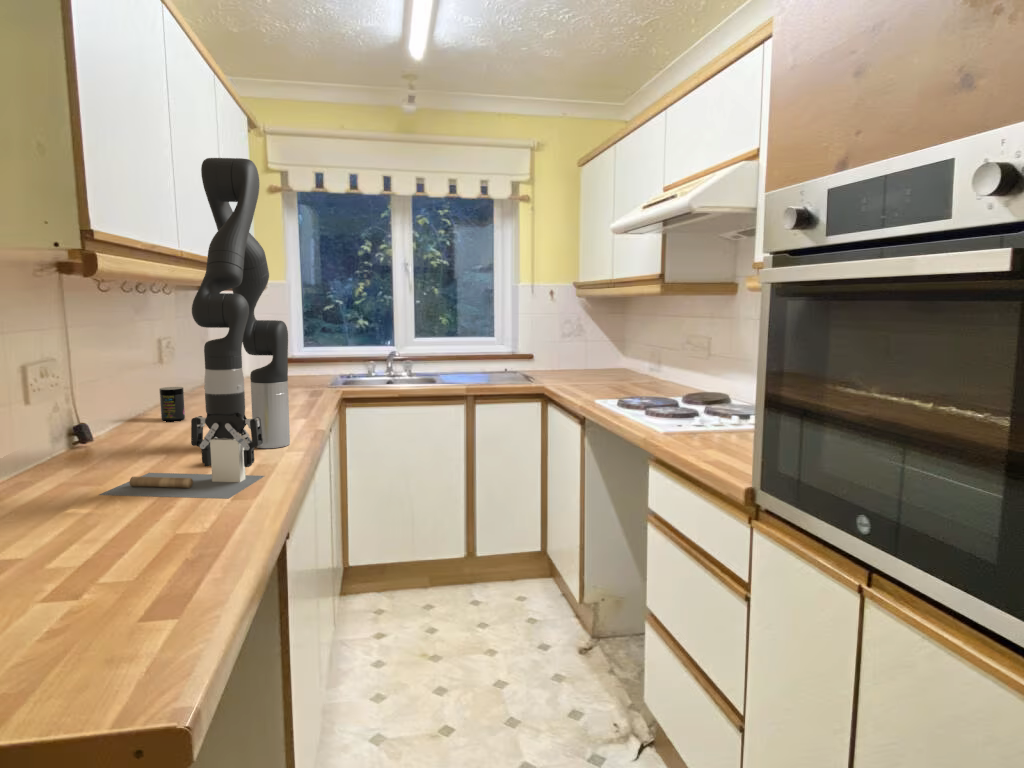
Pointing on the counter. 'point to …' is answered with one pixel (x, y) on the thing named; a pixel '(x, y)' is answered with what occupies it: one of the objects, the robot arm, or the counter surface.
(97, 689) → the counter surface
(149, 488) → the mat
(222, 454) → the tile
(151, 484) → the dowel
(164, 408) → the supplement container
